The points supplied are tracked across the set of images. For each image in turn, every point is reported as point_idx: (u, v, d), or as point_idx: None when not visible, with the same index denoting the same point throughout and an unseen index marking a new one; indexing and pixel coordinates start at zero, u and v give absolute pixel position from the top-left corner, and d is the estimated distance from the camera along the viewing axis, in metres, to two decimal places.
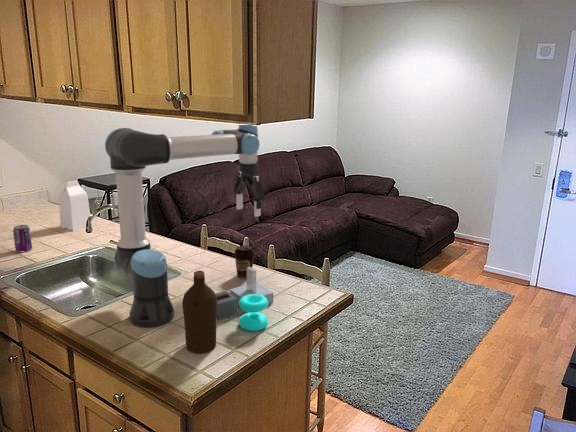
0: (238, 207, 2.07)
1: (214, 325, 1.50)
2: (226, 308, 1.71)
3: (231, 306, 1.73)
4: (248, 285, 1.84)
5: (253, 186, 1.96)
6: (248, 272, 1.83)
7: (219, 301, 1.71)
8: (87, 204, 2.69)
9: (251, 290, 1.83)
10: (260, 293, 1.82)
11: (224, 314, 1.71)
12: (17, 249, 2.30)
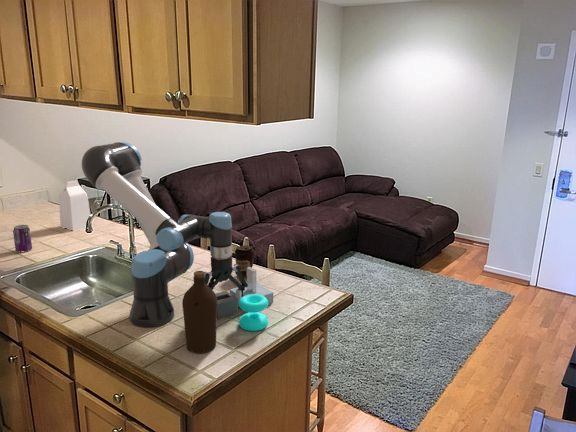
0: None
1: (214, 325, 1.50)
2: (226, 308, 1.71)
3: (231, 306, 1.73)
4: (248, 285, 1.84)
5: (210, 283, 1.70)
6: (248, 272, 1.83)
7: (219, 301, 1.71)
8: (87, 204, 2.69)
9: (251, 290, 1.83)
10: (260, 293, 1.82)
11: (224, 314, 1.71)
12: (17, 249, 2.30)
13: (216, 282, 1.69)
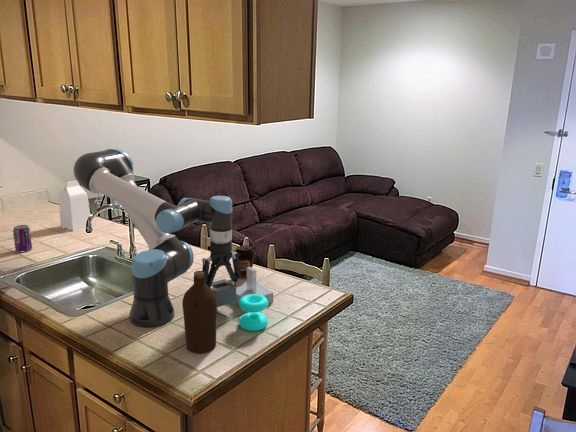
0: None
1: (214, 325, 1.50)
2: (224, 296, 1.71)
3: (230, 294, 1.72)
4: (248, 285, 1.84)
5: (211, 268, 1.69)
6: (248, 272, 1.83)
7: (218, 289, 1.70)
8: (87, 204, 2.69)
9: (251, 290, 1.83)
10: (260, 293, 1.82)
11: (222, 302, 1.71)
12: (17, 249, 2.30)
13: (217, 267, 1.68)
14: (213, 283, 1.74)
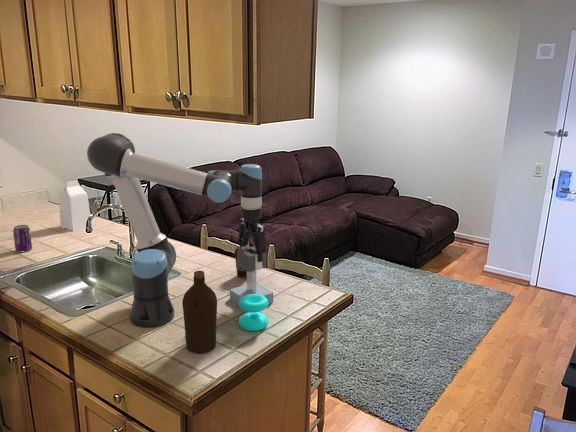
0: None
1: (214, 325, 1.50)
2: None
3: None
4: (248, 285, 1.84)
5: (256, 236, 1.75)
6: (248, 272, 1.83)
7: None
8: (87, 204, 2.69)
9: (251, 290, 1.83)
10: (260, 293, 1.82)
11: None
12: (17, 249, 2.30)
13: None
14: (247, 253, 1.77)
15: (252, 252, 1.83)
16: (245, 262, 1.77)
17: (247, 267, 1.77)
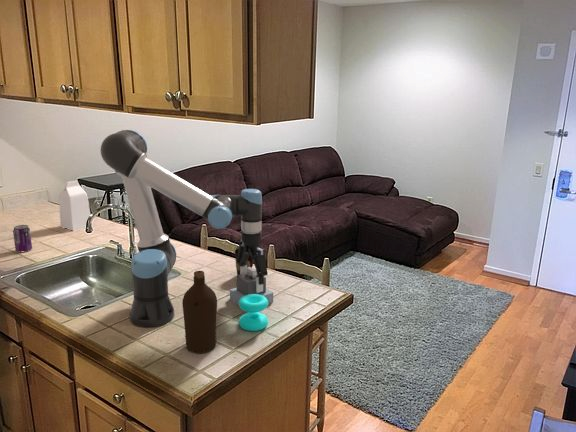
0: None
1: (214, 325, 1.50)
2: None
3: None
4: None
5: (256, 259, 1.77)
6: (248, 272, 1.83)
7: None
8: (87, 204, 2.69)
9: None
10: None
11: None
12: (17, 249, 2.30)
13: None
14: (247, 279, 1.80)
15: None
16: (244, 288, 1.80)
17: (246, 292, 1.79)
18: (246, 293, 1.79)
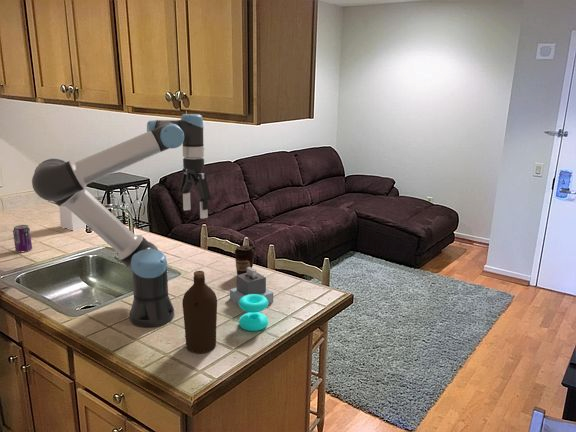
0: (185, 207, 1.85)
1: (214, 325, 1.50)
2: None
3: None
4: None
5: (199, 184, 1.74)
6: (248, 272, 1.83)
7: (260, 277, 1.82)
8: None
9: None
10: None
11: None
12: (17, 249, 2.30)
13: None
14: (247, 279, 1.80)
15: None
16: (244, 288, 1.80)
17: (246, 292, 1.79)
18: (246, 293, 1.79)
